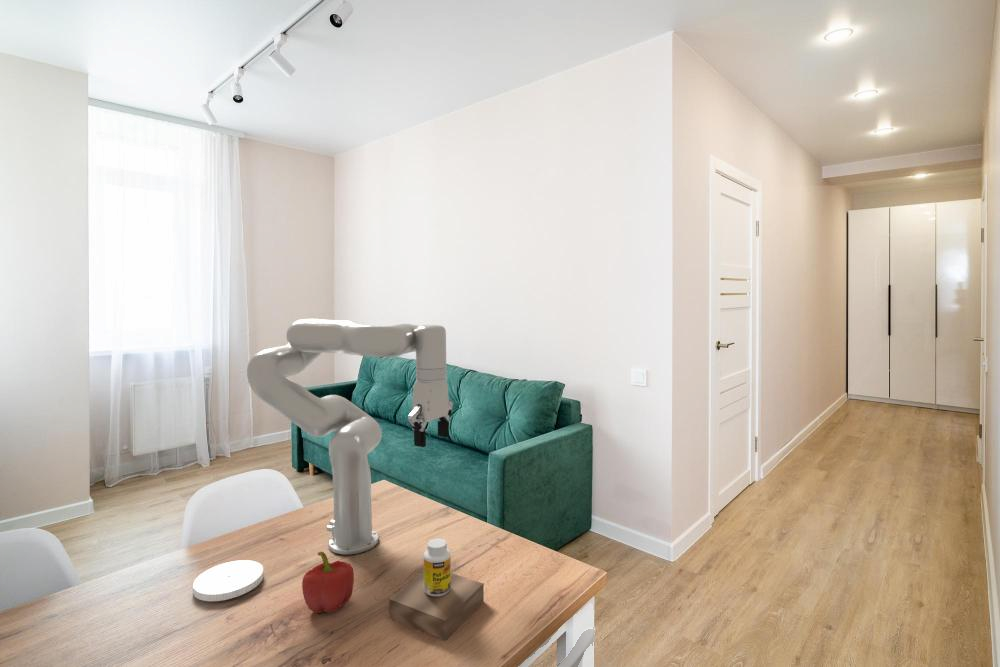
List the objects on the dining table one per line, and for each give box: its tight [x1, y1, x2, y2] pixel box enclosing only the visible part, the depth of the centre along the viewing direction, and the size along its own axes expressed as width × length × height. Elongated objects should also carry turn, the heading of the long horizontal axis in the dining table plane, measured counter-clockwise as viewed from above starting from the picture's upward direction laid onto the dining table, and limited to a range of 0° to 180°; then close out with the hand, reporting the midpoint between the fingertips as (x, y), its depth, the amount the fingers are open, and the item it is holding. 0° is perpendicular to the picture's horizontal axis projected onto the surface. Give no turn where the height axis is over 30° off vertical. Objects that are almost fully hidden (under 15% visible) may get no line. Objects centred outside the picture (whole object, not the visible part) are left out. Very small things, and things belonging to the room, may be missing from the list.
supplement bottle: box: [423, 538, 452, 597], centre depth 105 cm, size 6×6×10 cm
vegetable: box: [301, 551, 355, 614], centre depth 107 cm, size 11×10×10 cm
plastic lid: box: [192, 559, 264, 602], centre depth 114 cm, size 14×14×2 cm
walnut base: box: [388, 571, 485, 641], centre depth 106 cm, size 14×14×4 cm
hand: (432, 441), depth 129 cm, fingers open, 9 cm apart
